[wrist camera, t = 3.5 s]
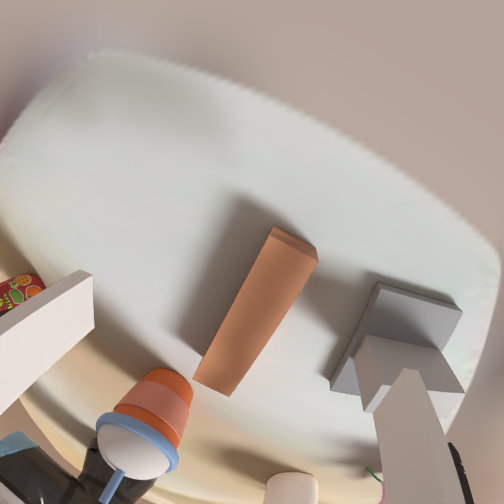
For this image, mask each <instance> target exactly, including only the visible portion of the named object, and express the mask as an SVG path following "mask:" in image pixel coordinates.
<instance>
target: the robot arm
mask: <svg viewBox="0 0 504 504" xmlns="http://www.w3.org/2000/svg"><path fill="white" fill-rule="evenodd" d="M94 328H95V327H94V309H93V275H92V274H89V273H87V272H85V271H82V270H78V271H76V272H74V273H73V274H71V275H69V276H67V277H66V278H64V279H62V280H60V281H59V282H57V283H55V284H53V285H52V286H50V287H48V288H47V289H45V290H43V291H41V292H40V293H38V294H36V295H35V296H33V297H31V298H30V299H28V300H27V301H25V302H23V303H22V304H20V305H18V306H17V307H15V308H14V309H13V308H10V309H7V310H3V311H0V415H1V414H2V413H3V412H4V411H5V410H6V409H7V408H8V407H9V406H10V405H11V404H12V403H13V402H14V401H15V400H16V399H17V398H18V397H19V396H20V395H21V394H22V393H23V392H24V391H25V390H27V389H28V388H29V387H30V386H31V385H32V384H33V383H34V382H35V381H36V380H37V379H38V378H39V377H40V376H41V375H42V374H44V373H45V372H46V371H47V370H48V369H49V368H50V367H51V366H52V365H53V364H54V363H55V362H57V361H58V360H59V359H60V358H61V357H62V356H63V355H64V354H65V353H66V352H68V351H69V350H70V349H71V348H72V347H73V346H74V345H75V344H77V343H78V342H79V341H80V340H81V339H82V338H83V337H84V336H86V335H87V334H88V333H89V332H90V331H91V330H92V329H94ZM373 417H374V422H375V428H376V433H377V439H378V445H379V451H380V457H381V464H382V471H383V478H384V486H385V495H386V504H474V502H473V498H472V494H471V491H470V487H469V484H468V481H467V477H466V474H464V472H465V471H464V468H463V465H461V464H462V462H461V459H460V456H459V453H458V451H457V450H456V449H455V447H454V446H453V445H452V443H447V441H446V438H445V435H444V432H443V430H442V427H441V424H440V422H439V419H438V416H437V414H436V411H435V409H434V406H433V404H432V401H431V399H430V397H429V394H428V392H427V390H426V387H425V385H424V383H423V380H422V378H421V376H420V374H419V371H418V370H412V369H406V368H403V370H402V371H401V373H400V375H399V376H398V378H397V379H396V381H395V382H394V384H393V385H392V387H391V388H390V390H389V391H388V392H387V394H386V395H385V397H384V398H383V400H382V401H381V402H380V404H379V405H378V406H377V408H376V409H375V410H374V412H373ZM114 473H115V470H114V469H113V468H112V467H111V466H110V465H109V464H108V463H107V462H106V461H105V460H104V458H103V457H102V455H101V453H100V450H99V447H98V440H97V439H94V440H92V442H91V443H90V445H89V446H88V448H87V451H86V456H85V461H84V465H83V470H82V472H81V474H80V475H79V477H78V478H77V479H76V478H75V477H74V476H73V475H71V474H70V473H69V472H67V471H66V470H65V469H64V468H63V467H61V466H60V465H59V464H58V463H57V462H55V461H54V460H53V459H52V458H51V457H50V456H49V455H47V454H46V453H45V452H44V451H43V450H42V449H41V448H40V446H39V445H38V444H35V443H34V442H33V441H32V440H31V439H30V438H29V437H28V436H27V435H25V434H24V433H23V432H19V431H16V432H13V433H11V434H10V435H8V436H7V437H5V438H4V439H2V440H1V441H0V504H103V503H102V502H100V501H99V498H100V496H101V495H102V493H103V491H104V489H105V488H106V486H107V484H108V483H109V481H110V479H111V478H112V476H113V474H114ZM156 478H157V477H156ZM156 478H153V479H149V480H137V479H132V478H129V477H126V476H123V478H122V480H121V481H120V483H119V485H118V487H117V489H116V490H115V492H114V494H113V496H112V497H111V499H110V501H109V503H108V504H134V503H135V502H136V501H137V500H138V499H139V498H140V497H142V496H143V495H144V494H145V493H146V492H147V491H148V490H149V489H151V488H152V486H153V485H154V483H155V481H156Z"/></svg>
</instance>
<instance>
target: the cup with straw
mask: <svg viewBox="0 0 504 504" xmlns="http://www.w3.org/2000/svg"><path fill="white" fill-rule="evenodd" d="M192 397H193V391H192V388H191V386H190V385H189V383H188V382H187V381H186V380H185V379H184V378H183V377H182V376H180V375H179V374H177V373H175V372H173V371H171V370H168V369H163V368H157V369H153V370H151V371H150V372H149V373H148V374H147V375H146V376H145V377H144V378H143V379H142V380H141V381H140V382H139V383H137V384H136V385H135V386H134V387H133V388H132V389H131V390H130V391H129V392H128V393H127V394H126V395H125V396H124V397H123V398H122V400H121V401H120V402H119V403H118V404H117V405H116V406H115V407H114V410H113V412H109V413H105V414H103V415H101V416H100V417H99V419H98V420H97V423H96V431H97V434H98V438H97V440H98V447H99V450H100V453H101V455H102V457H103V458H104V460H105V461H106V462H107V463H108V464H109V465H110V466H111V467H112V468H113V469H114V470H115V473H114V474H113V476H112V478H111V479H110V481H109V483H108V484H107V486H106V488H105V489H104V491H103V493H102V495H101V496H100V498H99V501H100V502H102V503H103V504H108V503H109V501H110V499H111V497H112V496H113V494H114V492H115V490H116V489H117V487H118V485H119V483H120V481H121V480H122V478H123V476H126V477H129V478H132V479H137V480H149V479H153V478H156V477H159V476H160V475H162V474H163V473H168V472H171V471H172V470H174V469H175V468H176V466H177V464H178V461H179V456H178V453H177V451H176V448H177V447H178V446H179V444H180V441H181V438H182V435H183V432H184V428H185V425H186V422H187V419H188V415H189V411H188V410H189V407H190V404H191V401H192Z"/></svg>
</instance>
